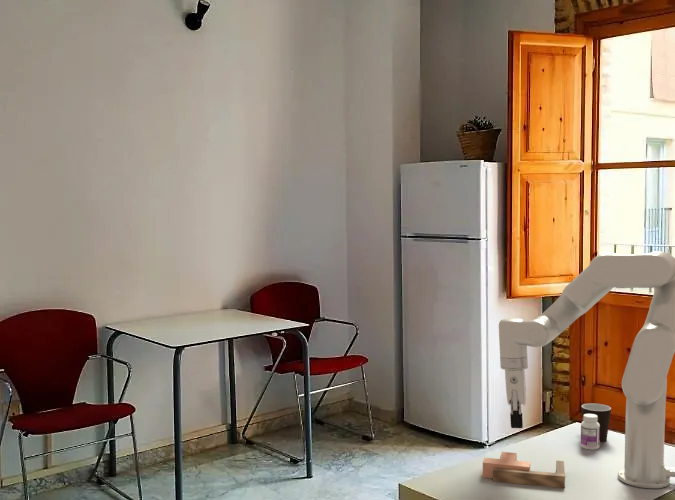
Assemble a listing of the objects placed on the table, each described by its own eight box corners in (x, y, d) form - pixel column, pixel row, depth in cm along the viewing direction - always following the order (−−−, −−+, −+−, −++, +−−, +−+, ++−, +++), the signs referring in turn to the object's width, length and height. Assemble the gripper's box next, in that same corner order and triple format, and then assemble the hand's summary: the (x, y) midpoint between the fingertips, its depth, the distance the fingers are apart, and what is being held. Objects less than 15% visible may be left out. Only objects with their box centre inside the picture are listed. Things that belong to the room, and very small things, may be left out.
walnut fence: (563, 472, 207) (563, 461, 207) (564, 488, 195) (565, 476, 195) (495, 466, 212) (495, 455, 211) (492, 481, 200) (492, 470, 200)
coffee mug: (612, 444, 231) (613, 411, 230) (582, 442, 232) (583, 410, 232) (606, 433, 242) (607, 401, 241) (578, 431, 244) (579, 400, 243)
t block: (531, 468, 209) (531, 454, 209) (529, 482, 200) (529, 467, 199) (486, 464, 213) (487, 450, 213) (482, 477, 203) (482, 462, 203)
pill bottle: (586, 443, 232) (587, 411, 231) (602, 447, 228) (603, 415, 227) (577, 447, 228) (577, 415, 228) (593, 451, 224) (594, 418, 224)
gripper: (527, 367, 207) (530, 435, 208) (528, 357, 222) (531, 420, 222) (498, 367, 209) (501, 434, 210) (501, 357, 224) (504, 420, 224)
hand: (516, 427), depth 216 cm, fingers closed
